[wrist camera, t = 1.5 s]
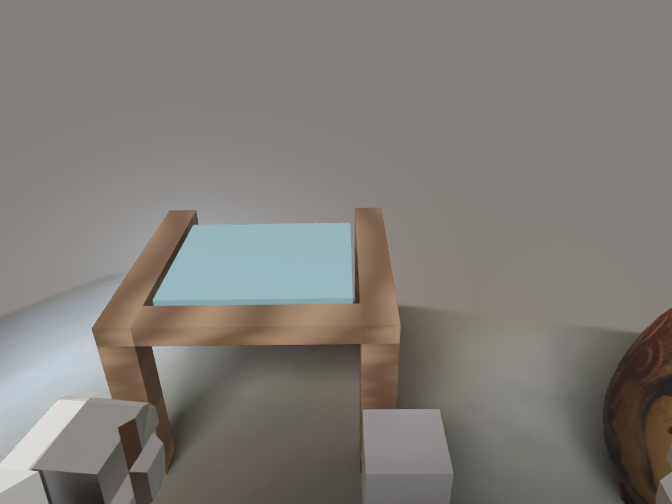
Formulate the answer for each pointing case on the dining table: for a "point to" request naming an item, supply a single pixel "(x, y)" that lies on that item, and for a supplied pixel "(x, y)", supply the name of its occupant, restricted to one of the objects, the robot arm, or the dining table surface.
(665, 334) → the ceramic jug
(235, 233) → the trapdoor
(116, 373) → the trapdoor frame
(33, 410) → the dining table surface
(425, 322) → the dining table surface
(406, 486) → the light grey block
